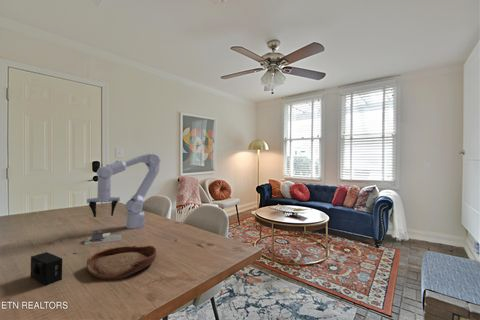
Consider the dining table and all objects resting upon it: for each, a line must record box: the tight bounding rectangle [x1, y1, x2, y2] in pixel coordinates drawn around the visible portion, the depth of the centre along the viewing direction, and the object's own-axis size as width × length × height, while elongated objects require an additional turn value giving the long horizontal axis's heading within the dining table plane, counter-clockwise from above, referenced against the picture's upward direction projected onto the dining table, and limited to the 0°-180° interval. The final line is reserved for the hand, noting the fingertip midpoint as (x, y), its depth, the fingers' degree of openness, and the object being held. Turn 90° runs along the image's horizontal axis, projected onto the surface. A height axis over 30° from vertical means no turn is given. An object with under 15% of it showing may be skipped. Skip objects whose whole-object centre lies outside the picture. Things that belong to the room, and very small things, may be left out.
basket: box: [86, 245, 157, 281], centre depth 81 cm, size 22×20×5 cm
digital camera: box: [30, 251, 63, 287], centre depth 71 cm, size 10×5×7 cm, turn 63°
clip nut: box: [90, 229, 104, 241], centre depth 103 cm, size 4×4×5 cm
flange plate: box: [84, 233, 123, 245], centre depth 104 cm, size 14×8×2 cm, turn 114°
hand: (103, 216), depth 115 cm, fingers open, 7 cm apart
